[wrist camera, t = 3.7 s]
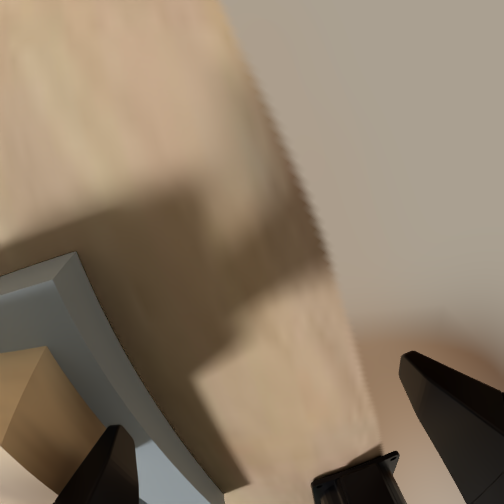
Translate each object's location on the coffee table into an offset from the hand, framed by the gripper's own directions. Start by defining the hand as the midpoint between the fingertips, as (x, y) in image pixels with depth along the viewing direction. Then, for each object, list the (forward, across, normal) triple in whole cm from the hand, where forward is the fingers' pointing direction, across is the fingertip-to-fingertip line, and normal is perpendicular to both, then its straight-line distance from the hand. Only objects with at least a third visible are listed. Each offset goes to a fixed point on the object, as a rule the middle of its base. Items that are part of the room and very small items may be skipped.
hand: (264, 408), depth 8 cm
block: (+1, +9, 0) cm, 9 cm away
